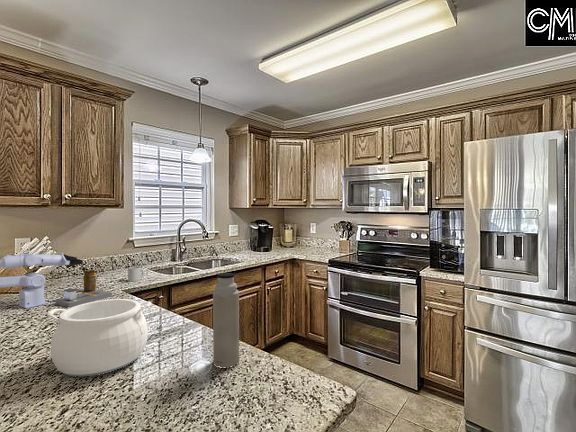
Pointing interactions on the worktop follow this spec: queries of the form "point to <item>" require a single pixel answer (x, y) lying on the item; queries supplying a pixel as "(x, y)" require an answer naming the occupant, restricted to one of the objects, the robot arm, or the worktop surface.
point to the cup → (135, 274)
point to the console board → (83, 298)
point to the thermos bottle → (225, 321)
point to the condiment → (89, 281)
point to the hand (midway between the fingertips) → (79, 260)
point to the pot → (98, 336)
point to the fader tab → (70, 294)
